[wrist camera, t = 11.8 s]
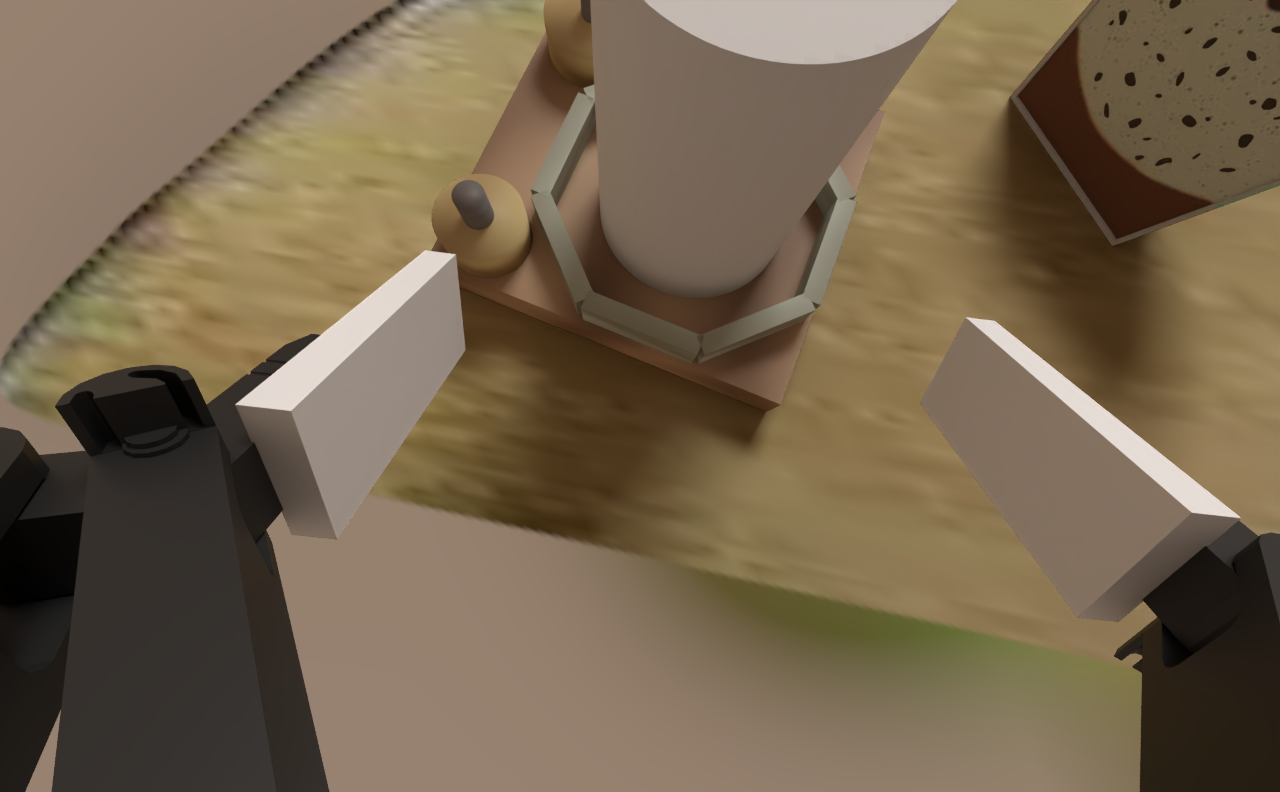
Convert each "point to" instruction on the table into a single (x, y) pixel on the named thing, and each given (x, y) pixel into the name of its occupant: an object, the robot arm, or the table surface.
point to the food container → (1160, 108)
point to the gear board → (584, 263)
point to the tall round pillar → (733, 122)
